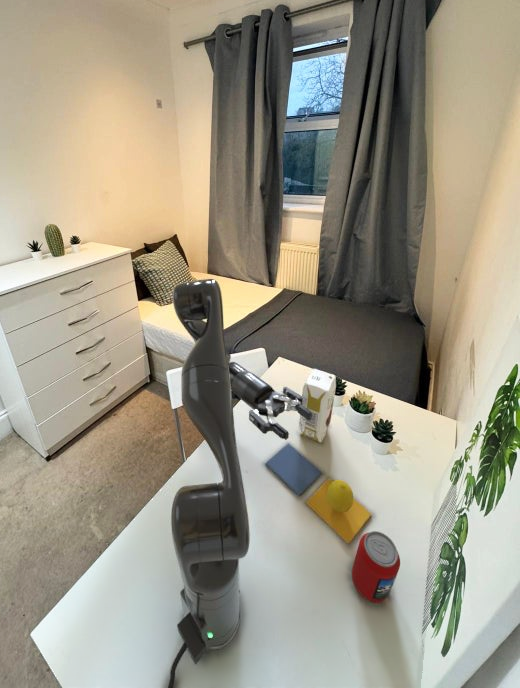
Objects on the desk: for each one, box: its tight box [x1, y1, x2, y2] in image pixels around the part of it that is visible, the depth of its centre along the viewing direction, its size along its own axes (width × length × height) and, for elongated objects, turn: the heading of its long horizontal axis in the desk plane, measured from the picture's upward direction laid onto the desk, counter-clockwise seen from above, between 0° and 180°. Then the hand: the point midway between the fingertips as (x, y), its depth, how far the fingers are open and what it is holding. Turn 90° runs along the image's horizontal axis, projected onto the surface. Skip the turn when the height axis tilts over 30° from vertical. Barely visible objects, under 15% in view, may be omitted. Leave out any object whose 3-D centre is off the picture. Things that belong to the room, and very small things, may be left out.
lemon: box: [327, 479, 354, 512], centre depth 73 cm, size 6×6×8 cm
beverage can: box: [351, 530, 401, 604], centre depth 60 cm, size 7×7×12 cm
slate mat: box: [265, 443, 323, 497], centre depth 84 cm, size 9×11×1 cm
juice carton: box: [298, 368, 337, 443], centre depth 91 cm, size 8×9×19 cm
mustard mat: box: [305, 477, 372, 545], centre depth 75 cm, size 9×11×1 cm
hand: (299, 426), depth 77 cm, fingers open, 8 cm apart
